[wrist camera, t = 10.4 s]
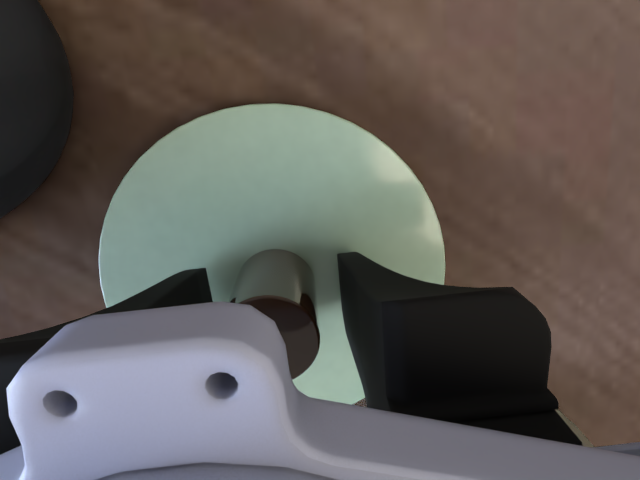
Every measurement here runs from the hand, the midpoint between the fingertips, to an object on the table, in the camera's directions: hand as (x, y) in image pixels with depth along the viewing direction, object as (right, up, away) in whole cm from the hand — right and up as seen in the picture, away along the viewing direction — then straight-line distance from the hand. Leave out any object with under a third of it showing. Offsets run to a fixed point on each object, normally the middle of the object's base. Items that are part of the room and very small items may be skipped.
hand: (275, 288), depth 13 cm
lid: (0, 0, +1) cm, 1 cm away
